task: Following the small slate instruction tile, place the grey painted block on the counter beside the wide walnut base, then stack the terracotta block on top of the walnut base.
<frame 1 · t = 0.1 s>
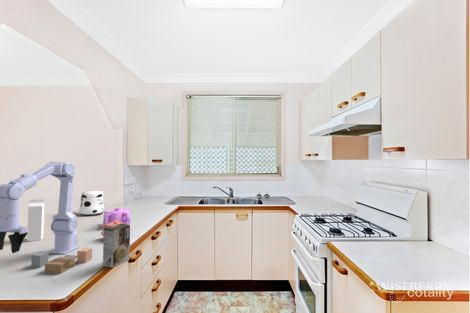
hand: (7, 251, 92), 10 cm above the counter, fingers open, 7 cm apart
milk: (35, 239, 135), on the counter
coffee box: (116, 263, 107), on the counter
grey block: (39, 265, 103), on the counter
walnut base: (60, 269, 100), on the counter
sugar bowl: (113, 239, 139), on the counter
instruction tile: (66, 259, 110), on the counter
teakettle: (116, 225, 166), on the counter
milk container: (91, 214, 197), on the counter
terracotta block: (84, 260, 109), on the counter
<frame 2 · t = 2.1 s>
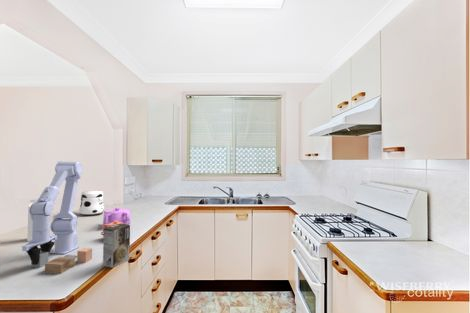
hand: (40, 261, 103), 1 cm above the counter, fingers closed on grey block, 4 cm apart
grey block: (39, 265, 103), on the counter, touching gripper
everything else where it was.
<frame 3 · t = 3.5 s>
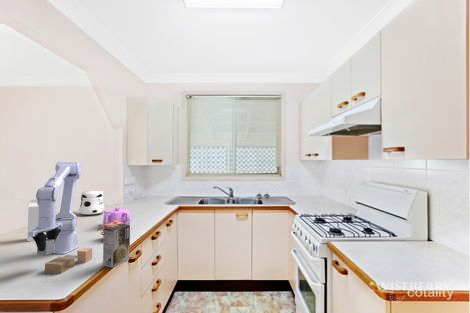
hand: (46, 248, 101), 8 cm above the counter, fingers closed on grey block, 4 cm apart
grey block: (45, 252, 101), point 6 cm above the counter, touching gripper
everything else where it was.
when the fingers open (3 cm above the counter, at t = 4.8 s): grey block stays where it is, on the counter.
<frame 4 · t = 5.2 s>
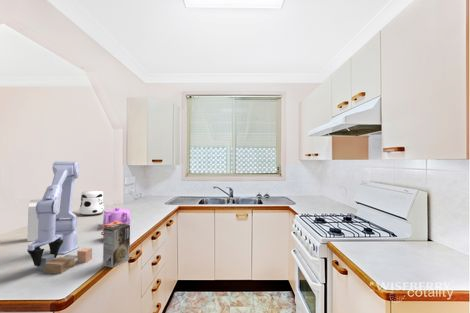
hand: (45, 261, 101), 3 cm above the counter, fingers open, 7 cm apart
grey block: (45, 268, 101), on the counter
everything else where it was.
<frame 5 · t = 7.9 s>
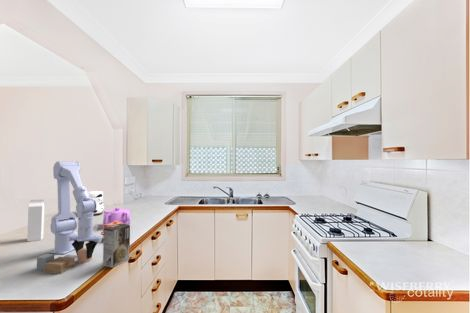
hand: (84, 257, 109), 1 cm above the counter, fingers closed on terracotta block, 4 cm apart
terracotta block: (84, 260, 109), on the counter, touching gripper
everything else where it was.
when the fingers open (6 cm above the counter, at t = 10.8 s): terracotta block stays where it is, resting on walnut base.
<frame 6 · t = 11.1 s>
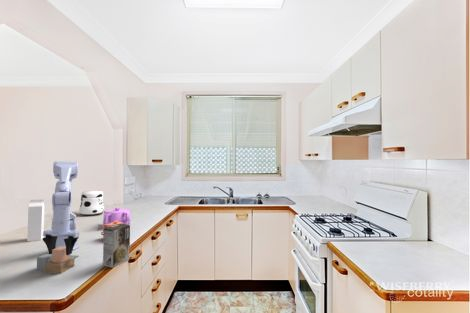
hand: (60, 253, 100), 6 cm above the counter, fingers open, 7 cm apart
terracotta block: (60, 260, 100), point 3 cm above the counter, touching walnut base
everything else where it was.
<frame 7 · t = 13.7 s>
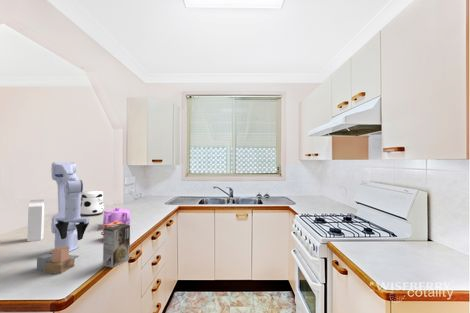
hand: (71, 239, 106), 10 cm above the counter, fingers open, 7 cm apart
nothing on the counter moved.
at the end: terracotta block 0.1 cm off-centre on the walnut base, point 3.5 cm above the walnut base's base; terracotta block tilted 0°; grey block 1.0 cm from the target spot on the counter beside the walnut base, on the counter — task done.
